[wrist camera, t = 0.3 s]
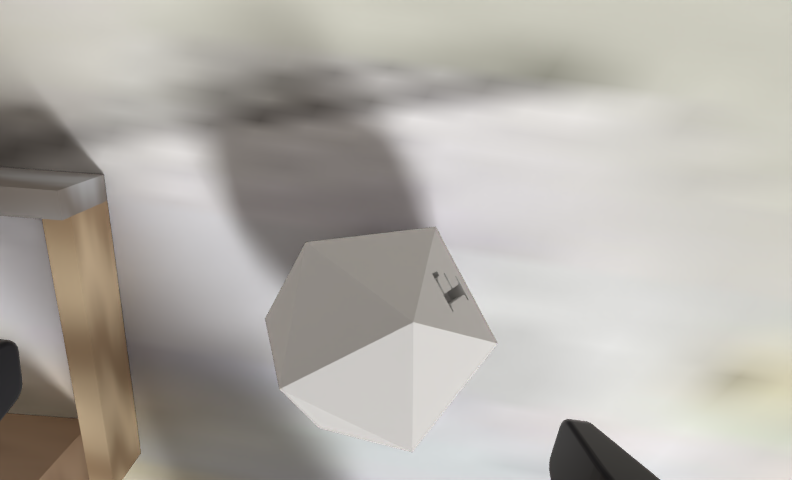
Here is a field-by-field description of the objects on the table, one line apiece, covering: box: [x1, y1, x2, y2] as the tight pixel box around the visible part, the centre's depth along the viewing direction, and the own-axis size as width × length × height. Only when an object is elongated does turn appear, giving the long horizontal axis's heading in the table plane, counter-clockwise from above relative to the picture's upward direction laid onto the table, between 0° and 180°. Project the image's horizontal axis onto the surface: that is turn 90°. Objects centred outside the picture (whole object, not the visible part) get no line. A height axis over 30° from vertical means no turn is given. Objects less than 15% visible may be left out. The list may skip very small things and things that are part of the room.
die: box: [265, 227, 498, 452], centre depth 19 cm, size 8×9×10 cm
